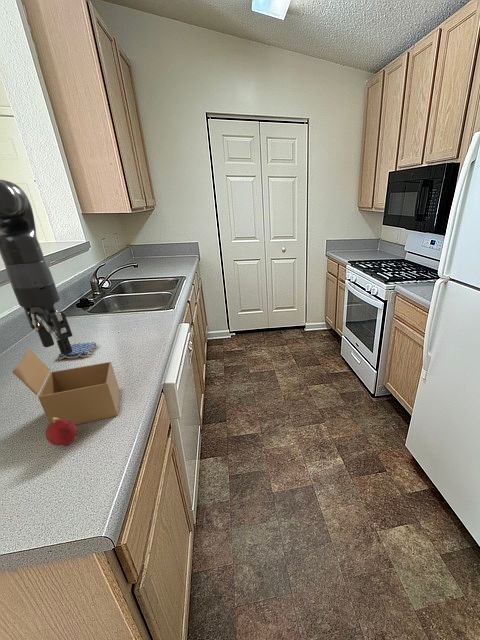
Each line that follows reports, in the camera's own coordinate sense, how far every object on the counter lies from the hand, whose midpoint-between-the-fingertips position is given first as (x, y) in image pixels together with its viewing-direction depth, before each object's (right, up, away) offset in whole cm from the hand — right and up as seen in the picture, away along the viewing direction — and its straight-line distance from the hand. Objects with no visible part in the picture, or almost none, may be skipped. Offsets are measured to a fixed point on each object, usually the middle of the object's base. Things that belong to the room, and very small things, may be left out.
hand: (58, 349), depth 80 cm
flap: (-8, -5, +3) cm, 10 cm away
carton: (0, -16, +12) cm, 20 cm away
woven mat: (-25, 0, +45) cm, 52 cm away
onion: (+3, -23, -1) cm, 23 cm away
